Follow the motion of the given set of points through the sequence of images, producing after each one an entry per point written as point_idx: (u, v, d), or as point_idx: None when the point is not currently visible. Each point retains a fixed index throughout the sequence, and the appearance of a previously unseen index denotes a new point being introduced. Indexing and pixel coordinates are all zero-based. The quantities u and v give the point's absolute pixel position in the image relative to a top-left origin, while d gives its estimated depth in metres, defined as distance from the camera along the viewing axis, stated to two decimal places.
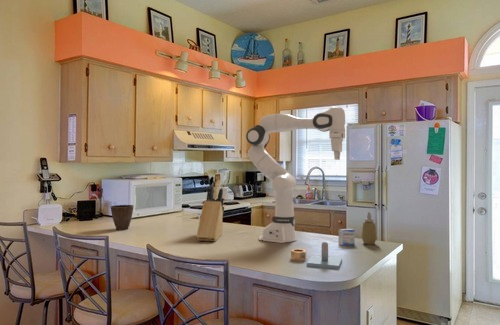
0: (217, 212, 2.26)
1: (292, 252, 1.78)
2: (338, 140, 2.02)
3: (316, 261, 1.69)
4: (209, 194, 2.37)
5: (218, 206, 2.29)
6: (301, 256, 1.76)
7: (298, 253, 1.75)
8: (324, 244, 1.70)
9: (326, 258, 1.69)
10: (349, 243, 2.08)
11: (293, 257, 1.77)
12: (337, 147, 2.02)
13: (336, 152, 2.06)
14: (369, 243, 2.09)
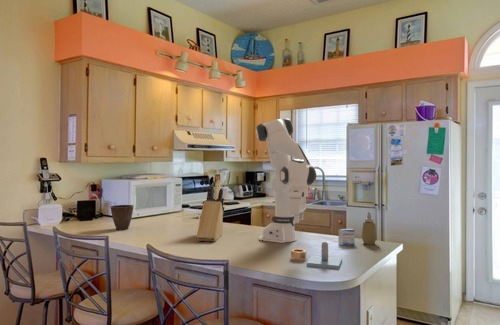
0: (217, 212, 2.26)
1: (292, 252, 1.78)
2: (297, 201, 1.70)
3: (316, 261, 1.69)
4: (209, 194, 2.37)
5: (218, 206, 2.29)
6: (301, 256, 1.76)
7: (298, 253, 1.75)
8: (324, 244, 1.70)
9: (326, 258, 1.69)
10: (349, 243, 2.08)
11: (293, 257, 1.77)
12: (296, 210, 1.69)
13: (296, 215, 1.73)
14: (369, 243, 2.09)
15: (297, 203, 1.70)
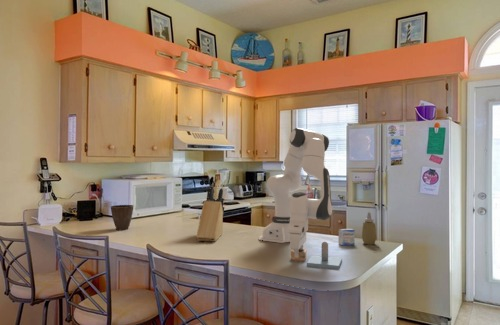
0: (217, 212, 2.26)
1: (292, 252, 1.78)
2: (298, 237, 1.69)
3: (316, 261, 1.69)
4: (209, 194, 2.36)
5: (218, 206, 2.29)
6: (301, 256, 1.76)
7: None
8: (324, 244, 1.70)
9: (326, 258, 1.69)
10: (349, 243, 2.08)
11: (293, 257, 1.77)
12: (296, 246, 1.69)
13: (296, 249, 1.73)
14: (369, 243, 2.09)
15: (297, 239, 1.69)
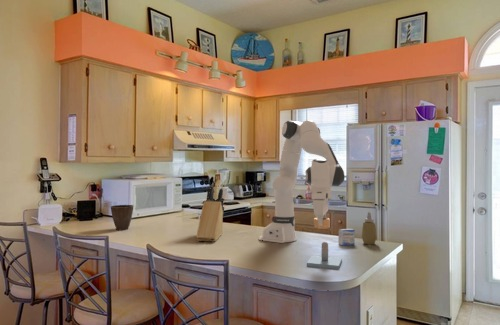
0: (217, 212, 2.25)
1: (315, 220, 1.71)
2: (322, 203, 1.63)
3: (316, 261, 1.69)
4: (209, 194, 2.36)
5: (218, 206, 2.29)
6: (325, 224, 1.69)
7: None
8: (324, 244, 1.70)
9: (326, 258, 1.69)
10: (349, 243, 2.08)
11: (316, 225, 1.70)
12: (321, 212, 1.62)
13: (320, 217, 1.66)
14: (369, 243, 2.09)
15: (321, 205, 1.62)
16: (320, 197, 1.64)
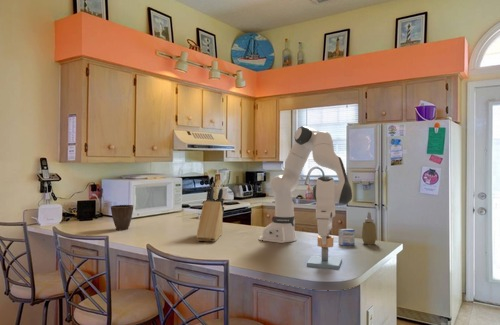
0: (217, 212, 2.25)
1: (319, 238, 1.70)
2: (326, 222, 1.61)
3: (316, 261, 1.69)
4: (209, 194, 2.36)
5: (218, 206, 2.29)
6: (328, 242, 1.68)
7: None
8: None
9: (326, 258, 1.69)
10: (349, 243, 2.08)
11: (319, 243, 1.69)
12: (325, 232, 1.61)
13: (324, 236, 1.65)
14: (369, 243, 2.09)
15: (326, 224, 1.61)
16: (324, 216, 1.62)
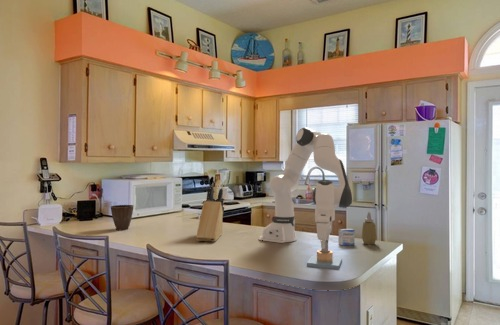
0: (217, 212, 2.25)
1: (318, 253, 1.70)
2: (325, 226, 1.61)
3: (316, 261, 1.69)
4: (209, 194, 2.36)
5: (218, 206, 2.28)
6: (328, 257, 1.68)
7: (325, 254, 1.67)
8: None
9: None
10: (349, 243, 2.08)
11: (319, 258, 1.69)
12: (324, 235, 1.61)
13: (323, 240, 1.65)
14: (369, 243, 2.09)
15: (325, 228, 1.61)
16: (324, 220, 1.62)
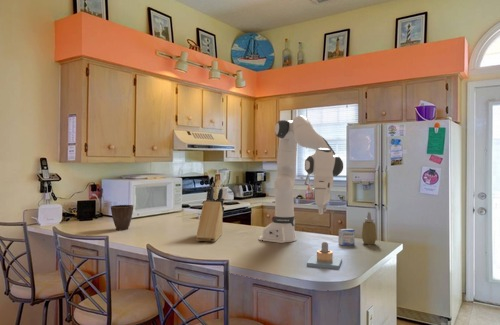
0: (217, 212, 2.25)
1: (318, 253, 1.70)
2: (323, 192, 1.63)
3: (316, 261, 1.69)
4: (209, 194, 2.36)
5: (218, 206, 2.28)
6: (328, 257, 1.68)
7: (325, 254, 1.67)
8: (324, 244, 1.70)
9: None
10: (349, 243, 2.08)
11: (319, 258, 1.69)
12: (322, 201, 1.62)
13: (321, 206, 1.66)
14: (369, 243, 2.09)
15: (323, 194, 1.62)
16: (322, 186, 1.63)
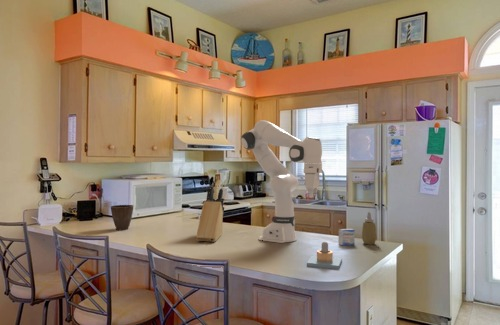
0: (217, 212, 2.25)
1: (318, 253, 1.70)
2: (313, 176, 1.77)
3: (316, 261, 1.69)
4: (209, 194, 2.36)
5: (218, 206, 2.28)
6: (328, 257, 1.68)
7: (325, 254, 1.67)
8: (324, 244, 1.70)
9: None
10: (349, 243, 2.08)
11: (319, 258, 1.69)
12: (311, 184, 1.77)
13: (311, 189, 1.80)
14: (369, 243, 2.09)
15: (312, 178, 1.77)
16: (311, 171, 1.78)
